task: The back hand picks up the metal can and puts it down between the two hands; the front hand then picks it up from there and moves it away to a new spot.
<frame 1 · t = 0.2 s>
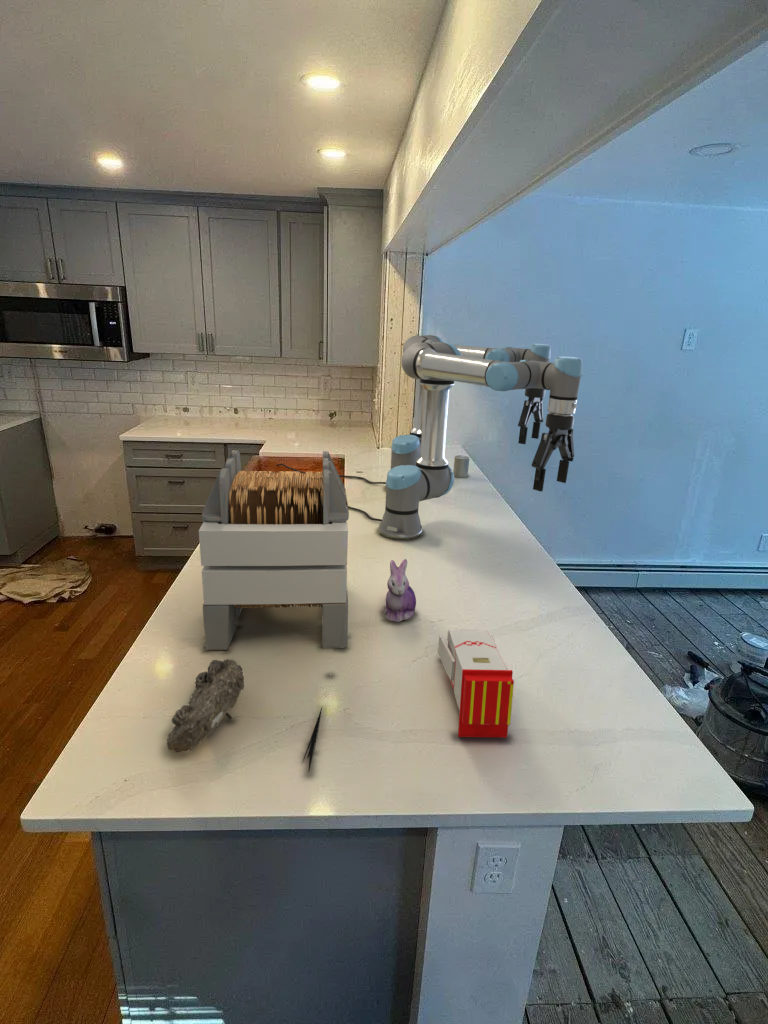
front hand: (549, 486, 166), 28 cm above the counter, tool pointing down, fingers open, 13 cm apart
back hand: (528, 441, 224), 28 cm above the counter, tool pointing down, fingers open, 13 cm apart
can: (460, 475, 274), on the counter
fossil: (212, 717, 108), on the counter
feather: (319, 719, 109), on the counter
figurine: (399, 614, 147), on the counter
record crate: (281, 613, 145), on the counter
toy: (469, 691, 119), on the counter
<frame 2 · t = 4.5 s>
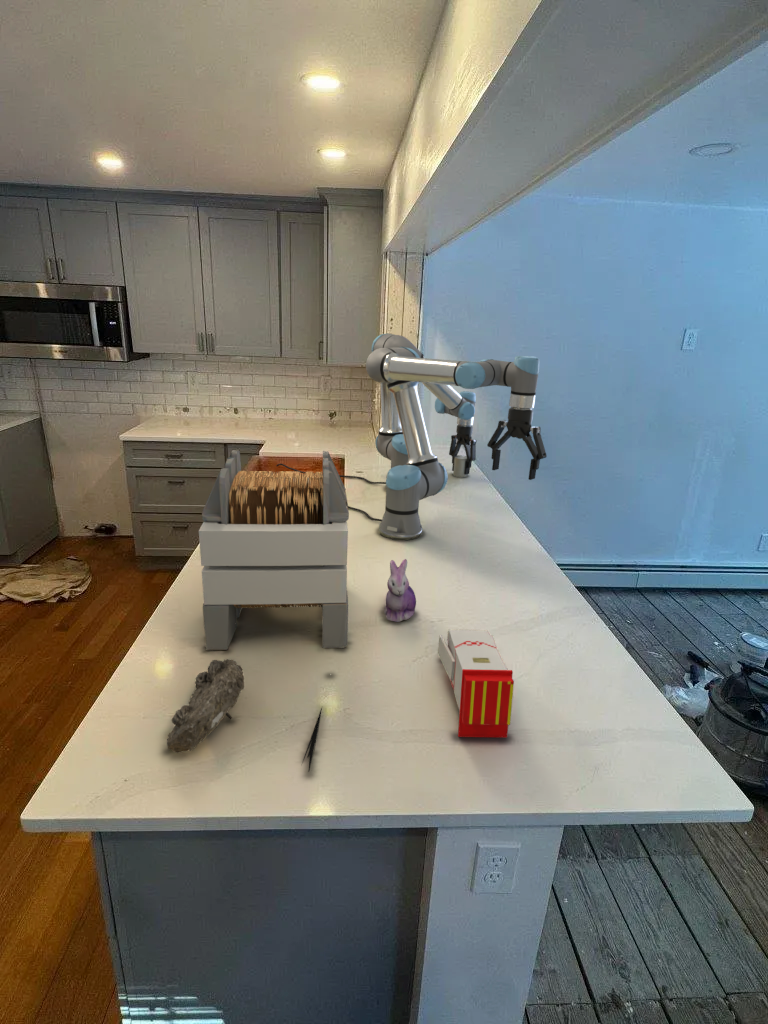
front hand: (513, 474, 182), 26 cm above the counter, tool pointing down, fingers open, 13 cm apart
back hand: (460, 472, 274), 2 cm above the counter, tool pointing down, fingers closed on can, 7 cm apart
can: (460, 475, 274), on the counter, touching back hand
everything else where it was.
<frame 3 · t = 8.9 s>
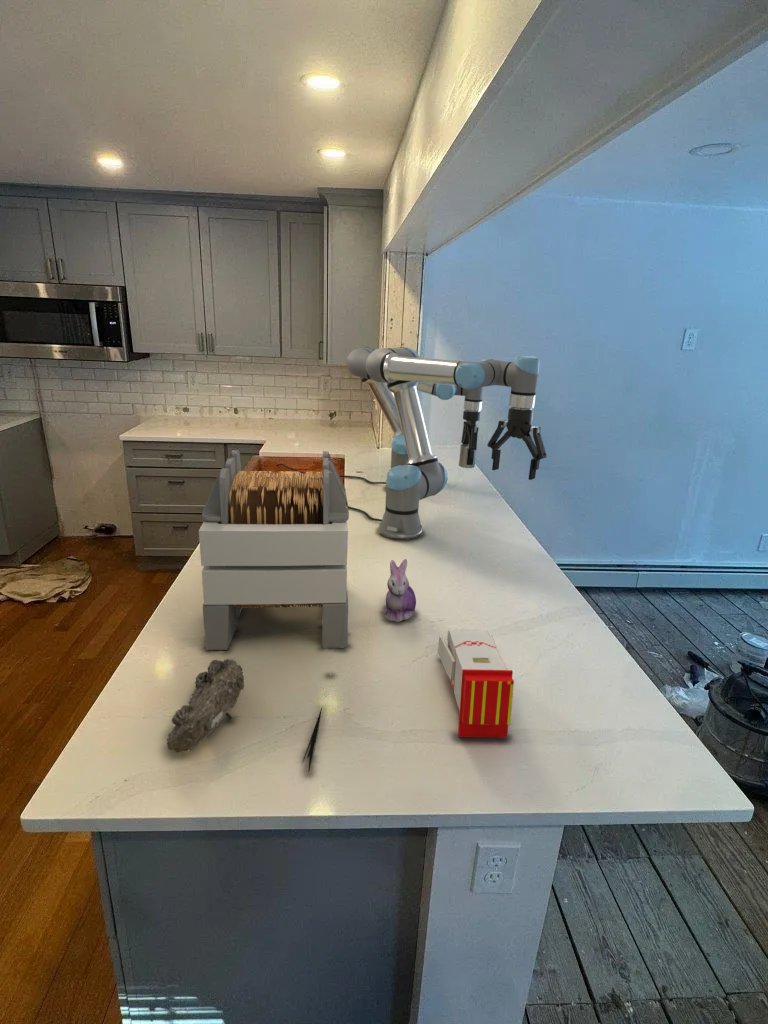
front hand: (513, 474, 182), 26 cm above the counter, tool pointing down, fingers open, 13 cm apart
back hand: (466, 462, 251), 12 cm above the counter, tool pointing down, fingers closed on can, 7 cm apart
can: (466, 466, 252), point 10 cm above the counter, touching back hand
everything else where it was.
when the back hand's fingers open (3 cm above the counter, at t = 13.5 s): can drops 2 cm, on the counter.
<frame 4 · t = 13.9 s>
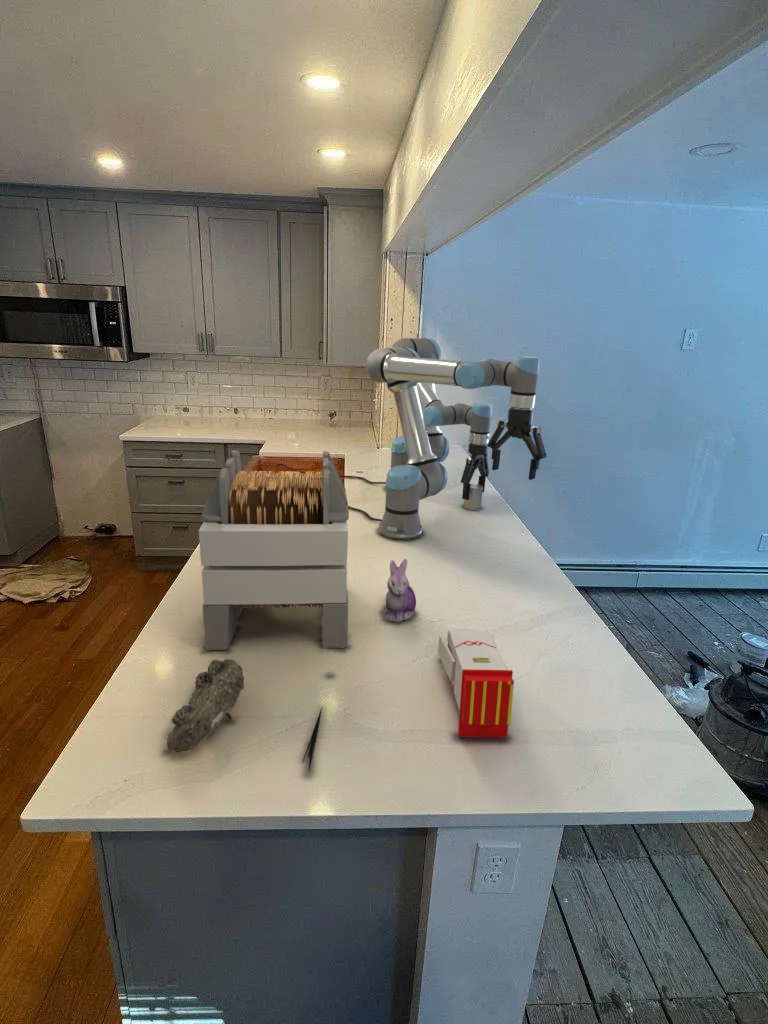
front hand: (513, 474, 182), 26 cm above the counter, tool pointing down, fingers open, 13 cm apart
back hand: (473, 495, 229), 5 cm above the counter, tool pointing down, fingers open, 13 cm apart
can: (472, 507, 231), on the counter
everything else where it was.
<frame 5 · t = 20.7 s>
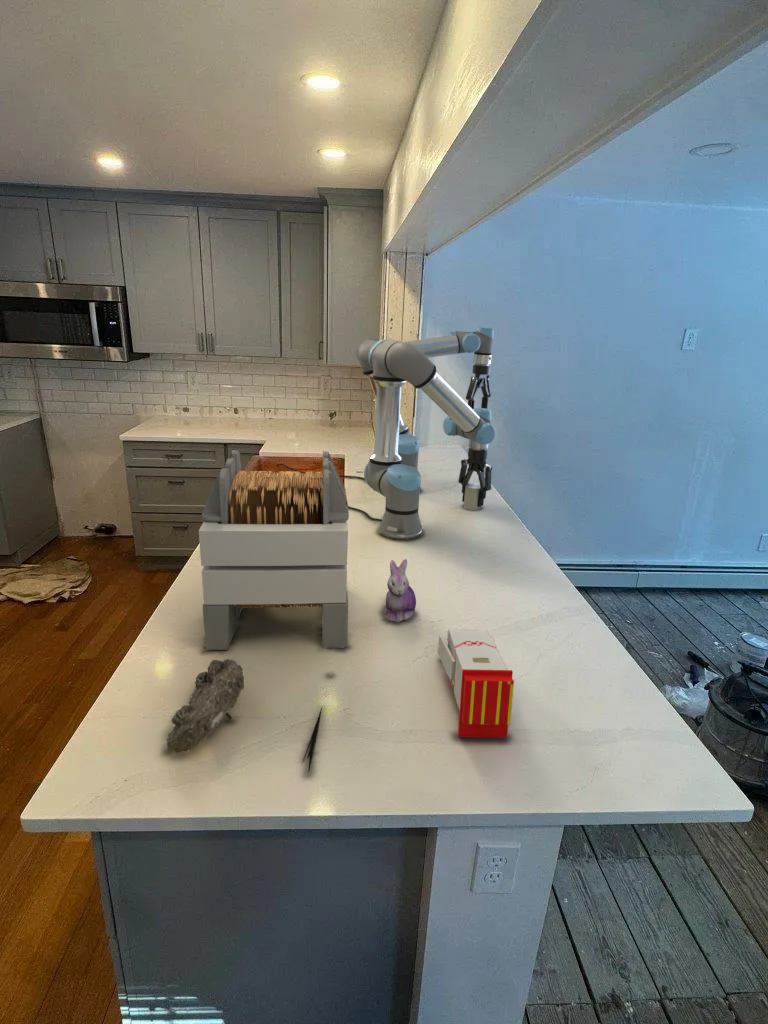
front hand: (472, 503, 230), 2 cm above the counter, tool pointing down, fingers closed on can, 7 cm apart
back hand: (477, 413, 254), 32 cm above the counter, tool pointing down, fingers open, 13 cm apart
can: (472, 507, 231), on the counter, touching front hand
everything else where it was.
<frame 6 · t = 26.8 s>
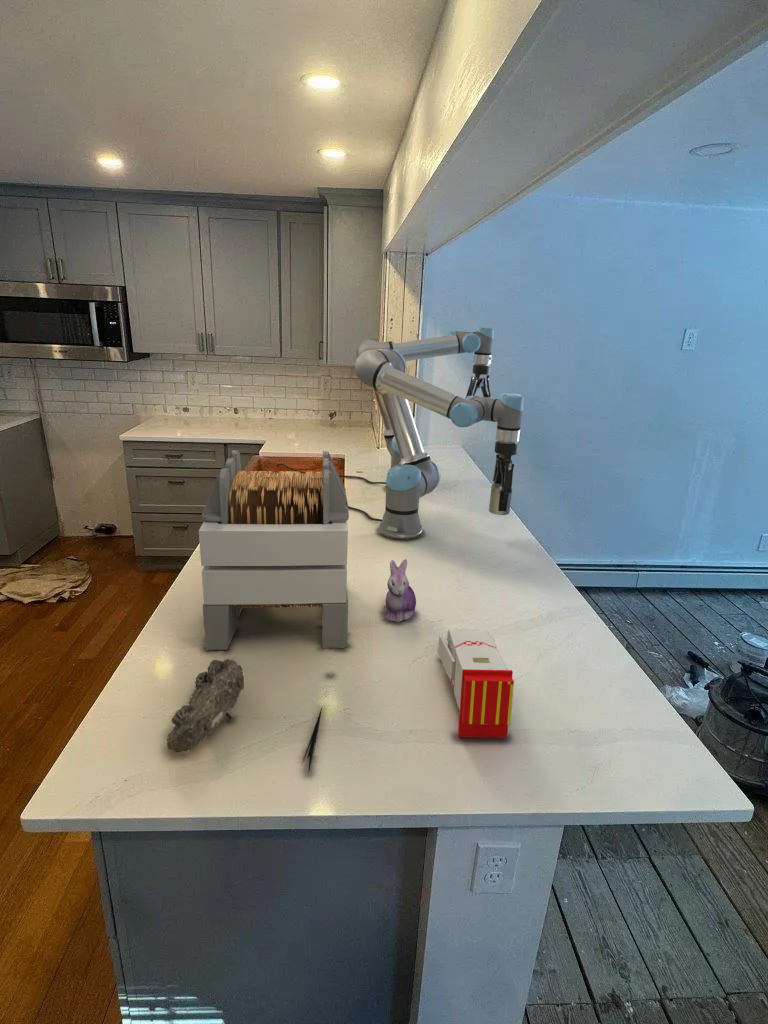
front hand: (499, 507, 195), 12 cm above the counter, tool pointing down, fingers closed on can, 7 cm apart
back hand: (477, 413, 254), 32 cm above the counter, tool pointing down, fingers open, 13 cm apart
can: (499, 511, 195), point 10 cm above the counter, touching front hand
everything else where it was.
when the front hand's fingers open (3 cm above the counter, at t = 33.2 s): can drops 2 cm, on the counter.
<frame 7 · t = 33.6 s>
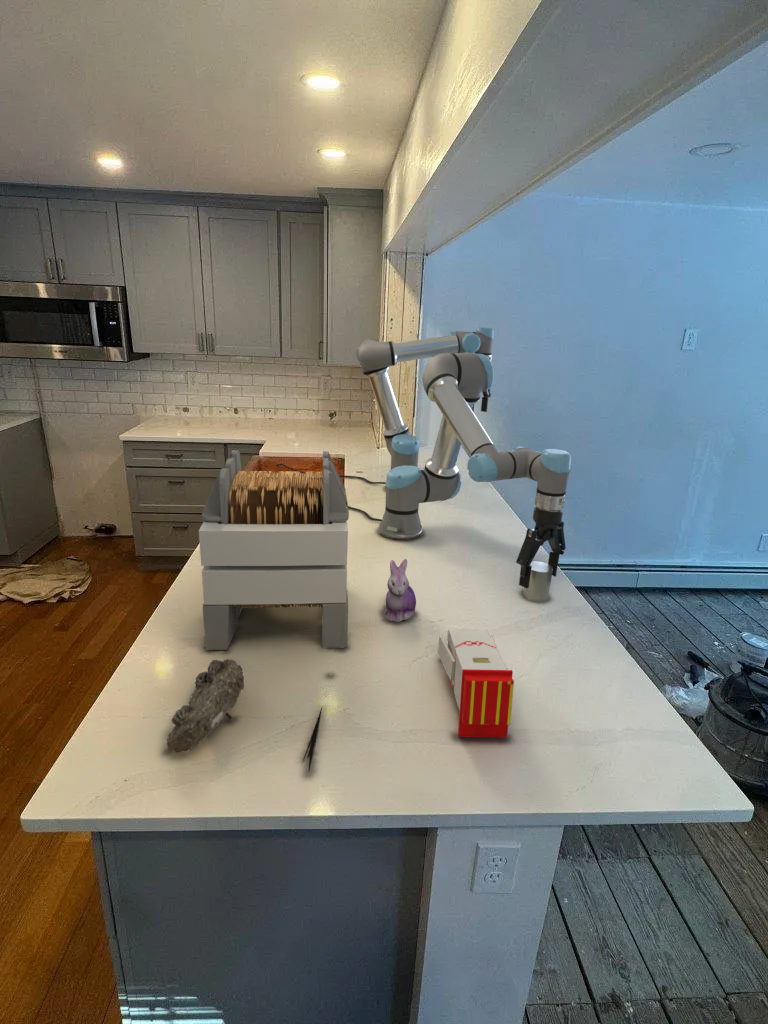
front hand: (537, 580, 159), 5 cm above the counter, tool pointing down, fingers open, 12 cm apart
back hand: (477, 413, 254), 32 cm above the counter, tool pointing down, fingers open, 13 cm apart
can: (535, 595, 160), on the counter
everything else where it was.
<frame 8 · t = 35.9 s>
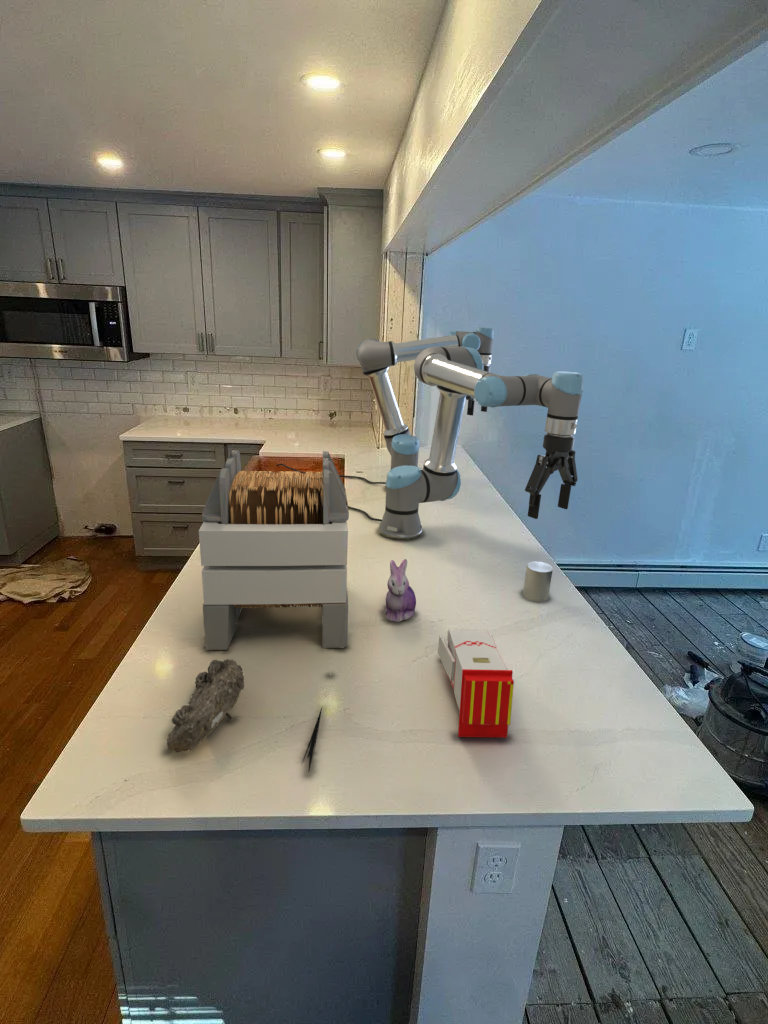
front hand: (547, 512, 152), 25 cm above the counter, tool pointing down, fingers open, 13 cm apart
back hand: (477, 413, 254), 32 cm above the counter, tool pointing down, fingers open, 13 cm apart
nothing on the counter moved.
at the end: can inside the target area (0.0 cm from its centre), on the counter; can tilted 0°; the two hands never held the can at the same time; the front hand is holding nothing; the back hand is holding nothing; can at rest at the end (0.0 cm/s) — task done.
